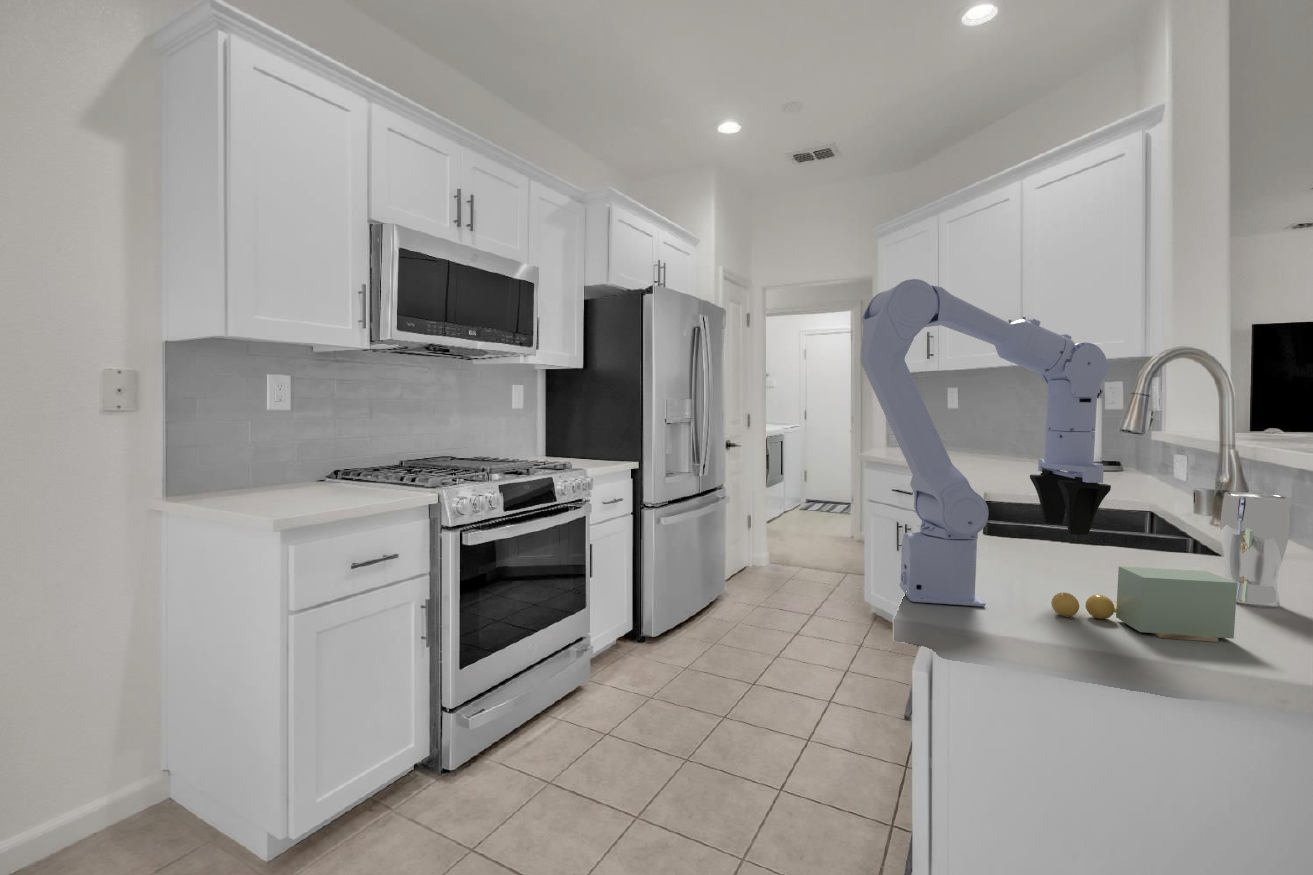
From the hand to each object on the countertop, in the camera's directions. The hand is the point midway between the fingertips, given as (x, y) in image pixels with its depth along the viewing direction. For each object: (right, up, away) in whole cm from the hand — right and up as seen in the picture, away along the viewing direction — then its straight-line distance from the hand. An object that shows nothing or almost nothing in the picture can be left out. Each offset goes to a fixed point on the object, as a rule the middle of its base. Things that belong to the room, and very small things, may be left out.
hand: (1065, 528), depth 87 cm
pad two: (+5, -11, -12) cm, 17 cm away
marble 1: (-5, -10, -7) cm, 13 cm away
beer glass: (+26, -11, +1) cm, 28 cm away
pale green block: (+5, -10, -12) cm, 16 cm away
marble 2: (-1, -10, -7) cm, 13 cm away
